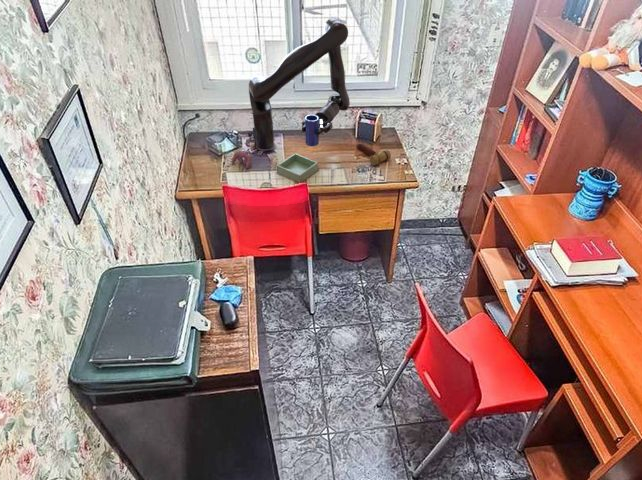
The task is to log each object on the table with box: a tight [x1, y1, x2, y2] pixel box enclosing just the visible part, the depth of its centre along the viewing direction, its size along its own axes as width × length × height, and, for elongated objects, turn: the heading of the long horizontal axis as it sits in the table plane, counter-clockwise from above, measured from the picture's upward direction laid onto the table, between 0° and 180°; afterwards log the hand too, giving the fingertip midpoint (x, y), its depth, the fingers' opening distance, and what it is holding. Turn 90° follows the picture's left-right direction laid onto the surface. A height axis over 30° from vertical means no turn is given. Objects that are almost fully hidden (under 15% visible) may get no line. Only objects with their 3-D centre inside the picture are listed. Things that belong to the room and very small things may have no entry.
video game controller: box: [231, 150, 254, 169], centre depth 223 cm, size 10×5×7 cm, turn 65°
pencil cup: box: [304, 114, 320, 147], centre depth 213 cm, size 6×6×12 cm
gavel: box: [355, 143, 392, 166], centre depth 233 cm, size 21×5×10 cm
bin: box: [275, 152, 319, 184], centre depth 220 cm, size 14×14×4 cm
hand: (309, 131), depth 211 cm, fingers closed on pencil cup, 6 cm apart
